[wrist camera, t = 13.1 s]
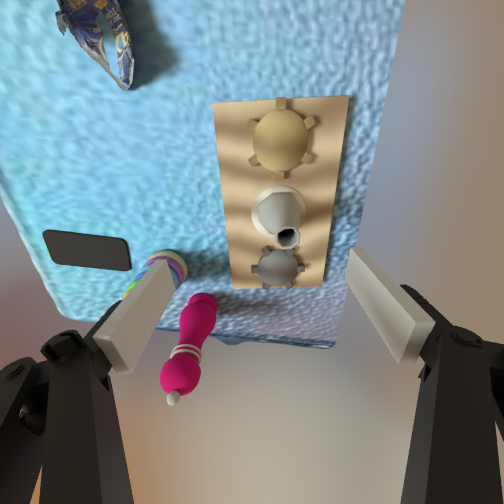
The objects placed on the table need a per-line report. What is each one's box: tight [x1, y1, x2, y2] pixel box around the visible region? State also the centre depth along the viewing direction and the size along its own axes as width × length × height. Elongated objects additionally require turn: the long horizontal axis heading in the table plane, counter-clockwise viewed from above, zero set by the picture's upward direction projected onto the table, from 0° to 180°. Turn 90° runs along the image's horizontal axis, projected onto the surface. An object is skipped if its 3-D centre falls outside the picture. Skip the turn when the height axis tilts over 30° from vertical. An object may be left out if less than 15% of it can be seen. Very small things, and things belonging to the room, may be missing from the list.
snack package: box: [55, 0, 135, 90], centre depth 23 cm, size 12×6×12 cm
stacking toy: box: [122, 251, 188, 300], centre depth 33 cm, size 8×8×19 cm
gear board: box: [212, 95, 350, 290], centre depth 34 cm, size 31×18×3 cm, turn 3°
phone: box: [42, 230, 131, 271], centre depth 40 cm, size 7×1×15 cm
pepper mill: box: [160, 293, 217, 405], centre depth 37 cm, size 7×7×20 cm
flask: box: [258, 192, 301, 249], centre depth 29 cm, size 7×7×10 cm
